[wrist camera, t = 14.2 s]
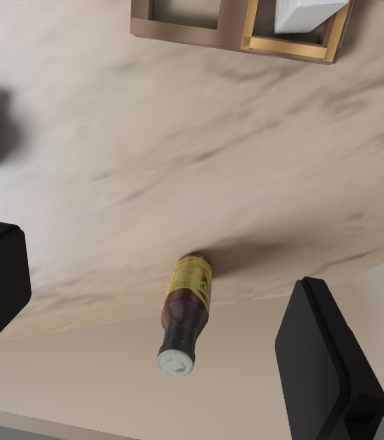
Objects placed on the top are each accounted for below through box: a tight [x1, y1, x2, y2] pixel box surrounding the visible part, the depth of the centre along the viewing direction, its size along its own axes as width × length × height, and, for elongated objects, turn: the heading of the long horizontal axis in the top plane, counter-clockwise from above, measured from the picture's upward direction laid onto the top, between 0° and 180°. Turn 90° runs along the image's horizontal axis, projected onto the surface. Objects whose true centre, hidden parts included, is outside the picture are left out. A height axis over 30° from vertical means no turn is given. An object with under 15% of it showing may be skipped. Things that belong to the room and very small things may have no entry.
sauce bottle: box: [157, 254, 212, 377], centre depth 40 cm, size 6×6×20 cm
